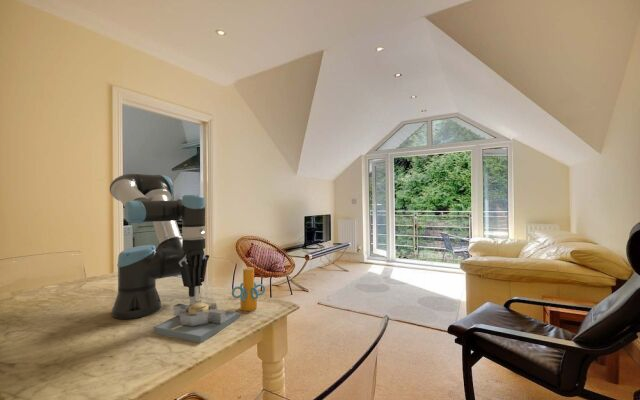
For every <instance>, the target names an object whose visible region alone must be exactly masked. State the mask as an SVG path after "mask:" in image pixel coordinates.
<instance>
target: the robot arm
mask: <svg viewBox="0 0 640 400" xmlns="http://www.w3.org/2000/svg"><path fill="white" fill-rule="evenodd" d="M174 192H175V189H174V184H173V181H172V179H171V178H170V177H169V176H167V175H161V174H146V173H145V174H144V173H143V174H141V173H126V174H123V175H119V176H118V177H116V178H114V179H113V180H112V181H111V183H110V185H109V193H110V194H111V196H112V197H113V198H114V199H116V200H117V201H120V203H122V205H123V206H124V210H123V213H124V219H125V222H127V223H130V224H131V223H133V224H135V223H136V224H141V223H153V227H154V230H155V234H156V238H157V240H158V244H157V246H156V245H155V244H146V245H137V246H134V247H128V248H125V249H123V250H122V251H120V252H119V254H118V258H117V265H116V266H117V294H116V295H117V296H116V298H115V301H114V304H113V307H112V309H111V311H112V312H111V317H112V318H114V319H116V320H117V319H118V320H131V319H138V318H142V317H146V316H149V315H152V314H154V313H156V312H158V311H159V310H161V308H162V301H161V299H160V295H159V293H158V290H157V287H156V286H157V285H156V284H157V283H156V281H157V280H158V279H159V280H160V279H165V278H171V277H176V276H181V279H182V280H181V281H182V285H183V287H185V288H188V297H189V305H190V304H195V301H198V300H200V293H201V292H200V291H201V290H200V287H201V286H202V285H203V283H205V278H206V273H207V266H208V261H209V258H210V255H209V254H206V253H205V250H204V249H205V248H206V238H205V237H206V199H205V198H206V197H205V196H204V195H203V194H184V195H182V198H181V200H180V199H179V200H177V199H176V200H172V198H173V196H174ZM177 221H181V224H182V225H181V226H182V227H181V232H180V229H179V226H178V223H177ZM181 234H182V235H181Z"/></svg>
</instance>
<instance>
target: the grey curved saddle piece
mask: <svg viewBox="0 0 640 400" xmlns="http://www.w3.org/2000/svg"><path fill="white" fill-rule="evenodd" d="M196 303H206V304H208V305H209V310H208V311H206V312H203V310H196V314H191V313H189V307H190V306H192V305H193V304H190V303H189V304H185V303H177V304H175V305H173V316H174V317H175V316H180V324H183V325H188V326H196V325H201V324H207V323H209V322H214V323H219V324H221V323H223V322H224V321H225V311H226V310H225V311H223V310H224V309H219V310H217V309H218V305H217V302H207V301H205V302H204V301H203V302H202V300H201V299H199V300H198V301H195V304H196Z"/></svg>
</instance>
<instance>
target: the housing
mask: <svg viewBox="0 0 640 400" xmlns="http://www.w3.org/2000/svg"><path fill="white" fill-rule="evenodd" d="M196 310H203V312H206V311H208V310H209V305H208V304H206V303H203V302H201V303H196V304H193V305H192V306H190V307H189V313H191V314H196ZM217 310H220V309H219V308H217ZM222 310H223V311H225V321H224V322H223V323H221V324H219V323H214V322H209V323H207V324H201V325H196V326H188V325H183V324H180V316H174V317H172V318H170V319H167V320H165V321H163V322H160V323H159V324H157V325H154V326H153V334H155V335H161V336H165V337H170V338H174V339H180V340H183V341H189V342H195V343H196V344H197V343H198V344H202V343H204V342H206V341H207V340H208V339H210V338H212V337H213V336H214V335H216V334H217V333H219V332H220V331H222V330H224V329H225V328H226V327H228V326H230V325H231V324H232V323H234V322H235V321H237V320H239V319H240V312H237V311H230V310H224V309H222Z"/></svg>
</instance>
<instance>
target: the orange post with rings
mask: <svg viewBox="0 0 640 400" xmlns="http://www.w3.org/2000/svg"><path fill="white" fill-rule="evenodd" d="M258 287H262V291H261V292H260V293H259V290H258V289H257V288H258ZM265 287H266V286H265V285H264V284H261V283H258V284H256V282H255V267H252V266H247V267H243V269H242V282H241V283H240V286H235V287H234V288H233V289H232V290H231V296H232V297H233V298H235V299H239V298H240V310H241V311H244V312H250V311H254V310H256V309H257V308H258V298H259V296H262V295H264V293H265V292H266V288H265ZM237 289H238V290H240V294H239V295H235V290H237Z"/></svg>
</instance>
